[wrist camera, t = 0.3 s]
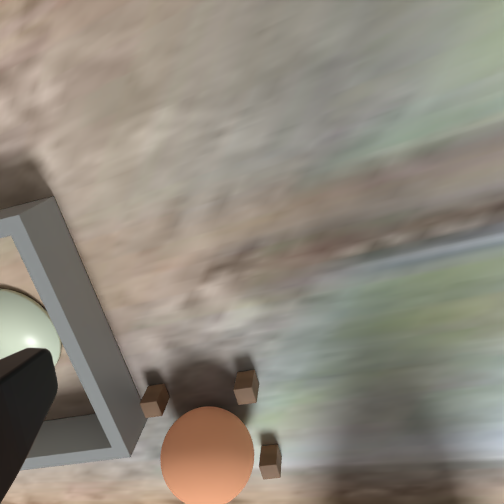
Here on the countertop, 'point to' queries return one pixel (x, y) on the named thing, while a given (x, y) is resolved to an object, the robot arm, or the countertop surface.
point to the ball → (207, 456)
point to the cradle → (245, 394)
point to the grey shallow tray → (67, 341)
